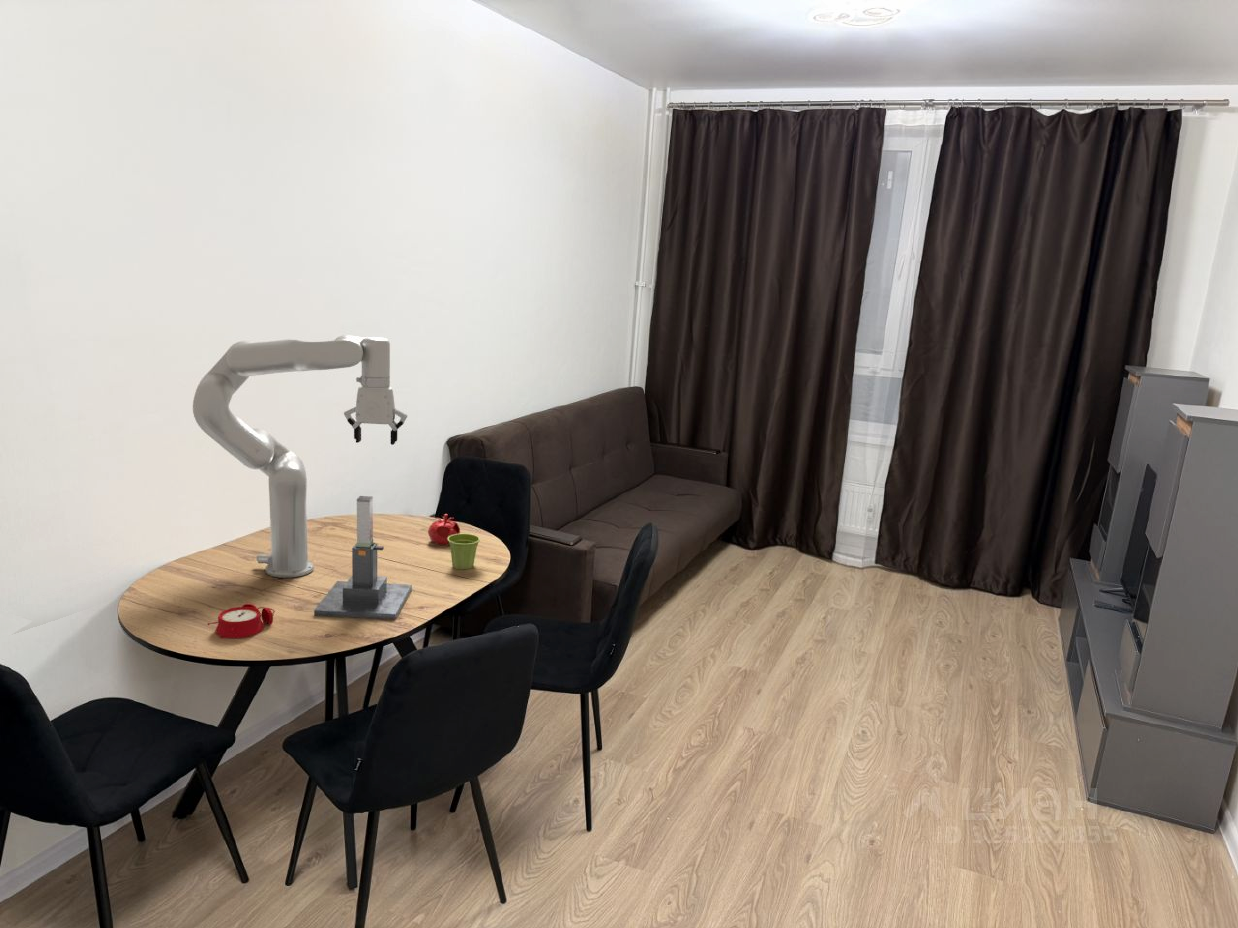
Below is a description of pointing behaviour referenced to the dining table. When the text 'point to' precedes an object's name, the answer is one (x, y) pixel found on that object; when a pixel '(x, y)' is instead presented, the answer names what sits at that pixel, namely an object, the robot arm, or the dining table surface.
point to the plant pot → (463, 550)
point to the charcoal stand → (364, 591)
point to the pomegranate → (443, 530)
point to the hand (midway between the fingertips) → (375, 442)
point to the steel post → (364, 522)
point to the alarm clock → (242, 621)
